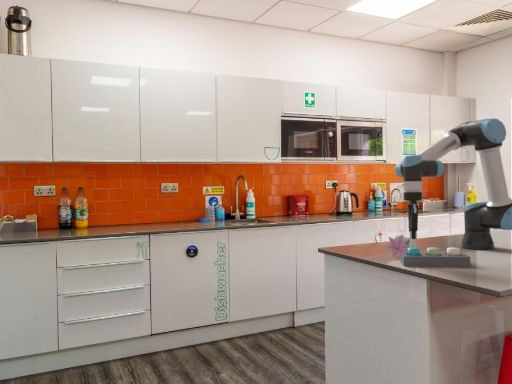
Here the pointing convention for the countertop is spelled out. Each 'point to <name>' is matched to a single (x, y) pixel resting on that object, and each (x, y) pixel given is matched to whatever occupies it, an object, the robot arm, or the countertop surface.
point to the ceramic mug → (405, 241)
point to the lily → (397, 245)
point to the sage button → (433, 251)
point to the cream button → (453, 251)
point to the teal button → (413, 251)
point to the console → (435, 260)
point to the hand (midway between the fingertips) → (413, 246)
